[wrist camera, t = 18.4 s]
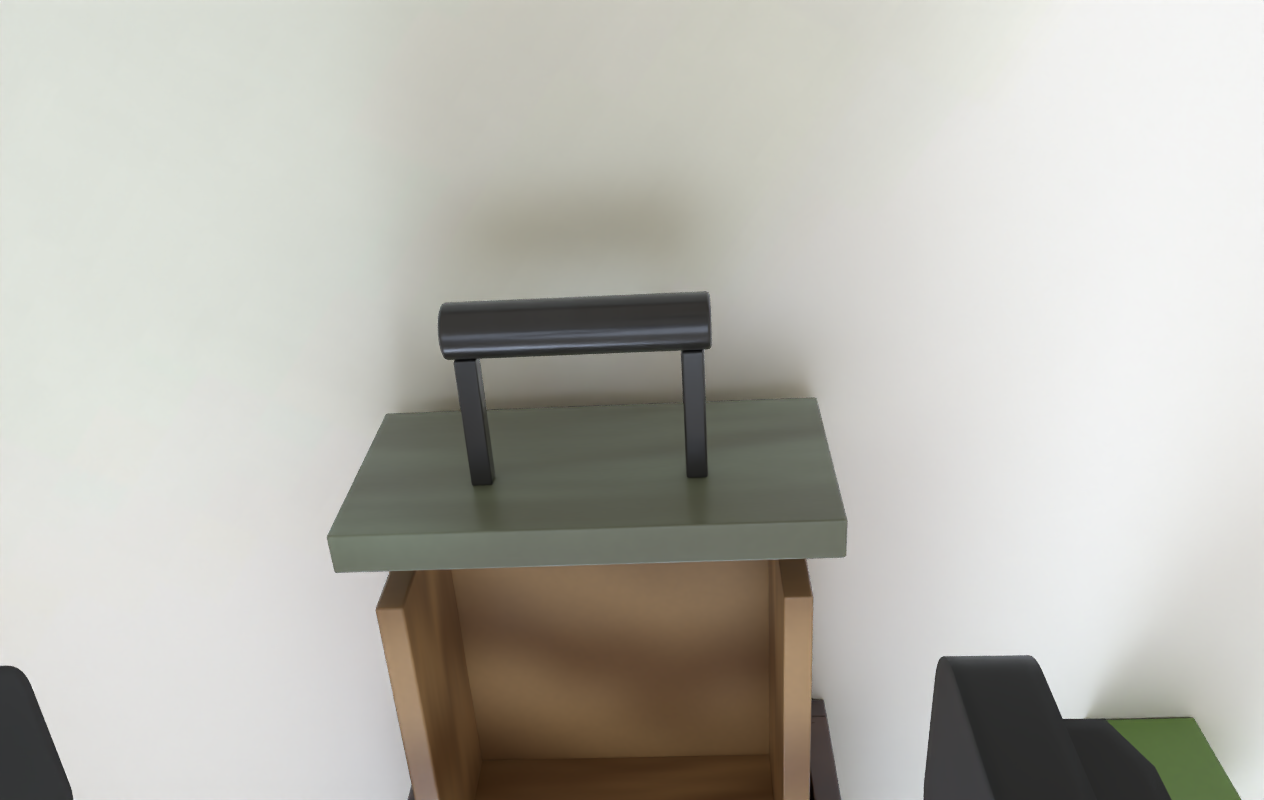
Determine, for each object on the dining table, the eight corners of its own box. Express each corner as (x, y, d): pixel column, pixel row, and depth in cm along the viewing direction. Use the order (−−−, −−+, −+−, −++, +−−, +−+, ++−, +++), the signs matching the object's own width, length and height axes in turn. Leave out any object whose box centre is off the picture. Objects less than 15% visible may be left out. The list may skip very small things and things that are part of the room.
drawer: (356, 253, 33) (284, 351, 27) (819, 232, 32) (854, 328, 26) (447, 753, 42) (409, 912, 36) (810, 745, 41) (834, 906, 35)
